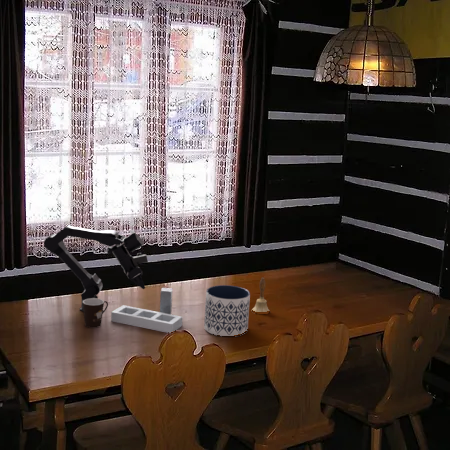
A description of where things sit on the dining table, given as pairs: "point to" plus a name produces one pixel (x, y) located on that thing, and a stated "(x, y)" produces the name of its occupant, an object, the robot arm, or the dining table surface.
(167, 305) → the steel peg
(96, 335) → the dining table surface
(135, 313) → the white flat frame block
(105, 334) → the dining table surface
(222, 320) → the planter
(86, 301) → the coffee mug
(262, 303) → the hand bell
